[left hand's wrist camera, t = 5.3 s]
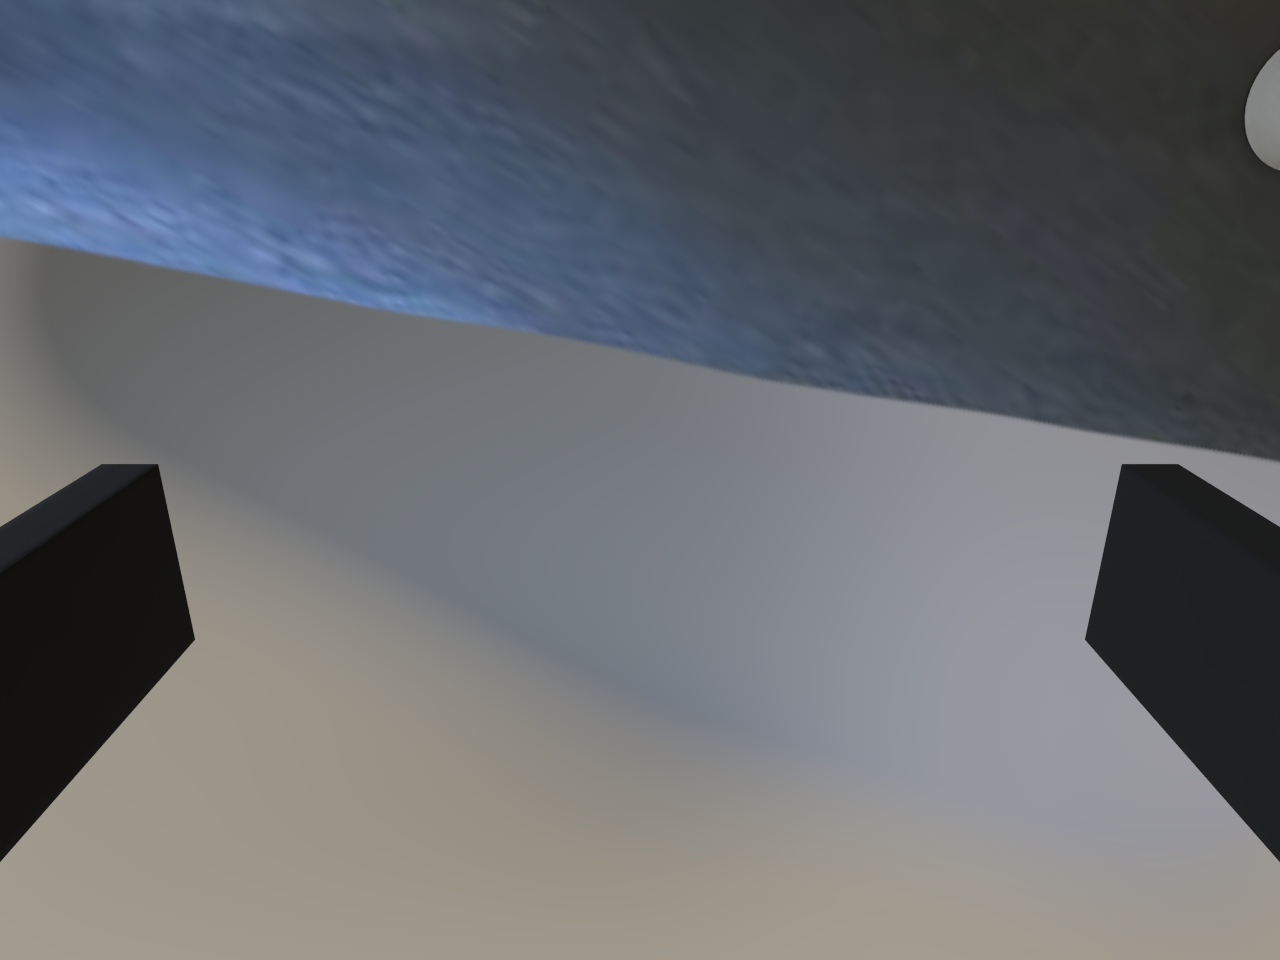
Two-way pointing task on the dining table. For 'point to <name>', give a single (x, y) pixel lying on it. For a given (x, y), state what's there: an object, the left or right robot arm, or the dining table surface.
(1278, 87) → the jar
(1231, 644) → the left robot arm
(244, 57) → the dining table surface
